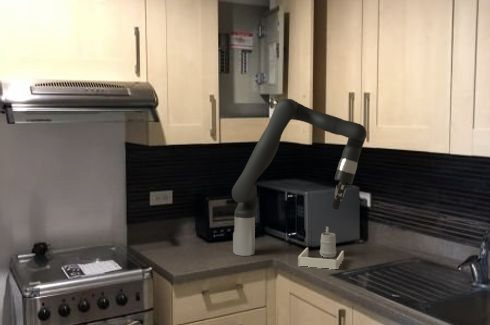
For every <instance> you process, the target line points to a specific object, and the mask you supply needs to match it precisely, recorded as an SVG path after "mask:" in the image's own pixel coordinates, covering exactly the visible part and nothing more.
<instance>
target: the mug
mask: <svg viewBox="0 0 490 325" xmlns="http://www.w3.org/2000/svg"><path fill="white" fill-rule="evenodd" d="M329 230H330V228H329V226H325V232H321V236H320V250H319V254H320V255H321V256H320V257H322V256H323V258H327V257H332V258H335V257H337V253H338V252H337V248H336V247H337V246H336V243H337V240H336V233H334V232H329Z"/></svg>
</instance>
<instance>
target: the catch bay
mask: <svg viewBox="0 0 490 325" xmlns="http://www.w3.org/2000/svg"><path fill="white" fill-rule="evenodd" d="M344 254H345V251H344V250H341V252H340V253H339V255H338V256H337V257H336V259H331V258H329V259H327V258H320V257H319V258H318V257H310V256H309V247H306V248H305V249H304V250H302V252H301V253H300V254H299V255H298V256H297V266H298V267H300V266H308V267H307V268H310V267H317V268H316V269H321V268H329V269H328V270H331V269H338V270H339V268H340V267H341V265H342V264H343V262H344V260H343V259H344V257H345V255H344ZM342 261H343V262H342ZM340 264H341V265H340ZM339 266H340V267H339Z"/></svg>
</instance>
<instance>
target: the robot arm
mask: <svg viewBox="0 0 490 325" xmlns="http://www.w3.org/2000/svg"><path fill="white" fill-rule="evenodd" d="M291 120H293V121H300V122H304V123H307V124H309V125H312V126H314V127H315V128H318V129H320V130H322V131H324V132H327V133H330V134H334V135H336V136H341V137H345V138H348V139H347V142H346V145H345V146H344V148H343V150H342V154H341V156H340V157H341V158H340V160H339V162H338V166H337V168H336V172H335V176H334V180H335V181H338V184H337V185H336V186H335V191H334V196H333V197H334V199H333V203H332V206H331V207H332V208H333V209H334V210H339V207H340V204H341V202H342V201H343V198H344V196H345V193H346V190H347V186H346V184H349V185H352V184H353V181H354V178H355V175H356V171H357V168H358V163H359V160H360V155H361V152H362V149H363V146H364V143H365V141H366V138H367V134H366V133H367V130H366V128H365V126H364V125H363V124H360V123H359V122H358V123H357V122H354V121H350V120H345V119H343V118H340V117H337V116H334V115H331V114H328V113H325V112H321V111H318V110H315V109H313V108H310V107H307V106H305V105H303V104H301V103H299V102H298V101H297V100H294V99H293V98H284V99H281V100H279V101H278V102H277V103H276V105H275V106H274V109H273V111H272V114H271V117H270V119H269V122H268V124H267V126H266V127H265V130H264V131H263V133H262V134H261V136H260V138H259V139H258V141H257V143H256V145H255V147H254V149H253V151H252V153H251V155H250V156H249V159H248V161H247V163H246V164H245V166H244V169H243V171H242V172H241V174H240V176H239V177H238V179H237V180H236V182H235V184H234V185H233V186H232V189H231V195H232V196H231V197H232V199H233V201H234V202H236V203H237V205H236V208H235V209H234V212H233V213H234V231H233V233H232V252H233V253H234V254H235V255H236V256H242V257H244V256H245V257H246V256H248V257H249V256H252V255H255V252H256V251H255V246H256V245H255V241H256V238H255V237H256V236H255V235H256V234H255V233H256V231H255V230H256V225H255V224H256V223H255V222H256V221H255V220H256V219H255V216H256V210H257V203H258V202H257V201H258V190H257V187H256V185H255V184H256V183H257V180H258V178H260V176H261V175H262V174H263V172H264V171H265V170H266V169H267V168H268V167H269V166H270V164H271V163H272V161H273V159H274V157H275V155H276V153H277V151H278V149H279V146H280V142H281V138H282V135H283V133H284V131H285V129H286V128H287V126H288V125H289V123H290V122H291Z"/></svg>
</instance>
